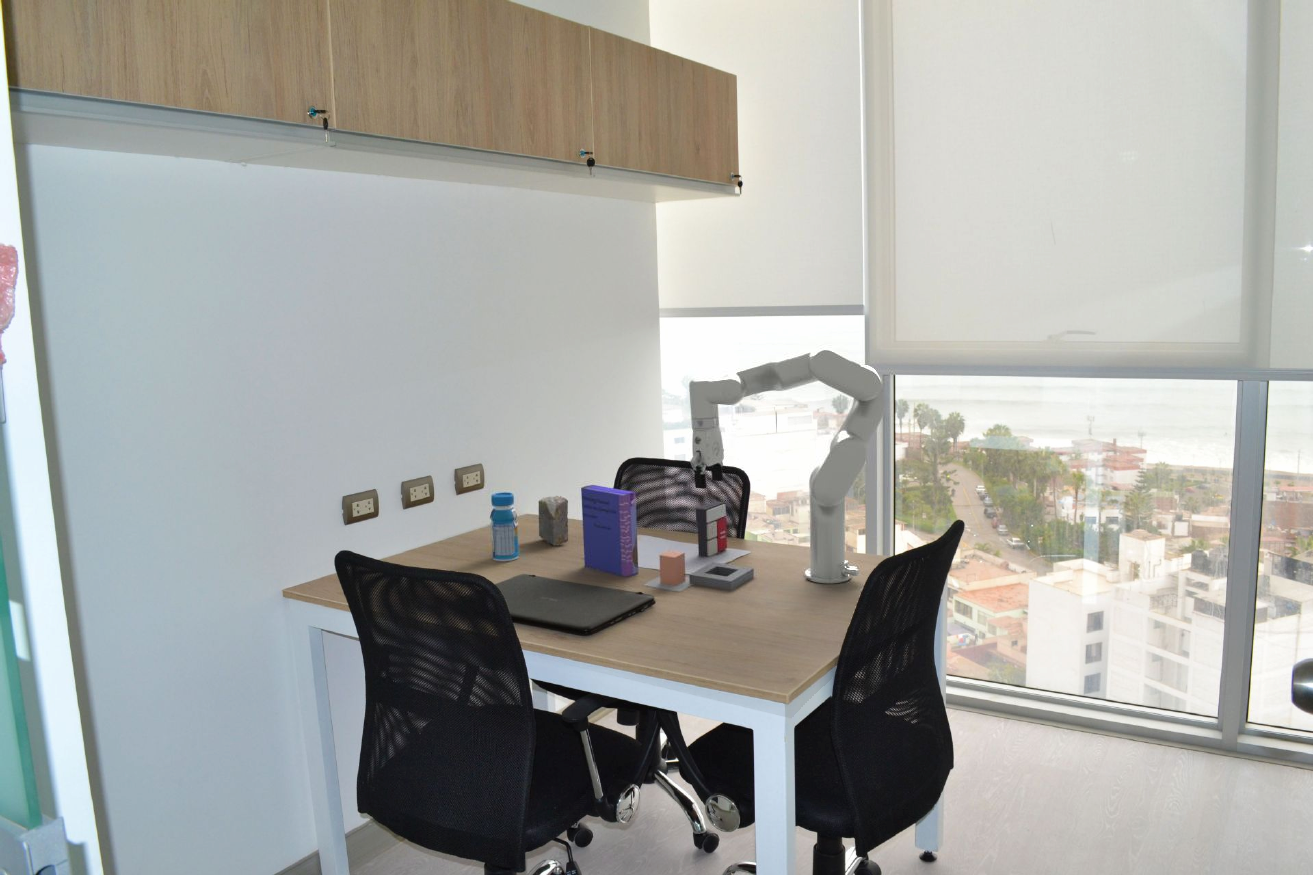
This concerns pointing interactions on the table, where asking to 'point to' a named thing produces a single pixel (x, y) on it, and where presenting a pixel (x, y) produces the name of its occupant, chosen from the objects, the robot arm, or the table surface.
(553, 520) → the geological specimen
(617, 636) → the table surface
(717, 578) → the pocket tray
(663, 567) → the block
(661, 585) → the mat
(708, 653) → the table surface
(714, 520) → the grey and red box
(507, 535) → the beverage bottle
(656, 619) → the table surface
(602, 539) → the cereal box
